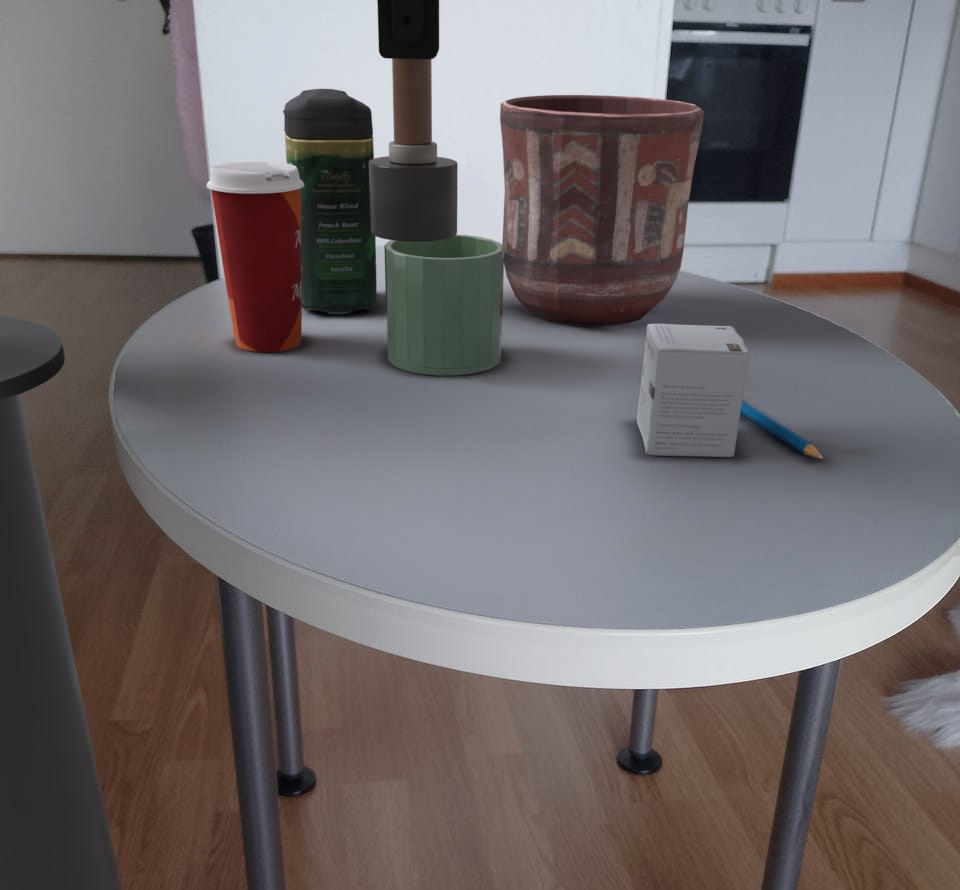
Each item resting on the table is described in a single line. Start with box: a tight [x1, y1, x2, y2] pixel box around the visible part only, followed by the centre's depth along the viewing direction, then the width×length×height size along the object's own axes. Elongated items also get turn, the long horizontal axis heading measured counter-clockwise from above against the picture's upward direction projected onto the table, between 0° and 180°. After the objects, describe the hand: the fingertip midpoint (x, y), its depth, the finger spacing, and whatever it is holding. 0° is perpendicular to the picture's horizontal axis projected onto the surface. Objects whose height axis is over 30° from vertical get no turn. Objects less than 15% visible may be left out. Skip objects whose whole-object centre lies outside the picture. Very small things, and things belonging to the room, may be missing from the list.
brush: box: [369, 59, 459, 242], centre depth 62 cm, size 5×5×15 cm
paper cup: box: [206, 161, 304, 353], centre depth 90 cm, size 8×8×14 cm
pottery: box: [499, 94, 705, 327], centre depth 100 cm, size 18×18×18 cm
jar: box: [383, 234, 505, 377], centre depth 88 cm, size 9×9×9 cm
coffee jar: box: [282, 88, 377, 315], centre depth 100 cm, size 10×8×19 cm
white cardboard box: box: [636, 323, 751, 458], centre depth 73 cm, size 6×6×7 cm
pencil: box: [740, 400, 824, 459], centre depth 79 cm, size 1×17×1 cm, turn 19°
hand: (409, 53), depth 61 cm, fingers closed on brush
